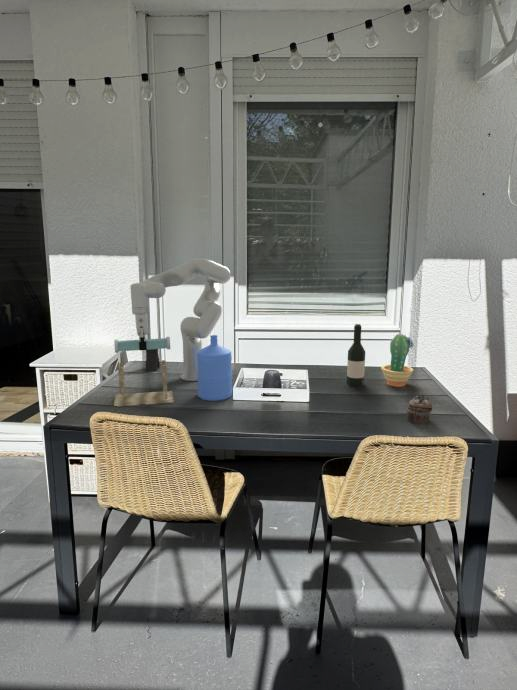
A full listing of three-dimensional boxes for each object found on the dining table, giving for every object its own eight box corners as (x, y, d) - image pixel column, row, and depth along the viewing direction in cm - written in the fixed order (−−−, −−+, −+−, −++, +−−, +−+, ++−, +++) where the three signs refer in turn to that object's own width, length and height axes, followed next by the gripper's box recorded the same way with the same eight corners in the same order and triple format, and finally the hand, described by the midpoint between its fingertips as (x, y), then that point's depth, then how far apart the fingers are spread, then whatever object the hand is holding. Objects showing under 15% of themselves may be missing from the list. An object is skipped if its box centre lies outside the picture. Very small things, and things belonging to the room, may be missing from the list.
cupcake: (425, 415, 200) (427, 391, 198) (434, 424, 190) (436, 399, 188) (402, 415, 200) (403, 392, 197) (410, 424, 190) (412, 400, 188)
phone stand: (156, 371, 264) (155, 349, 261) (145, 371, 264) (144, 349, 261) (160, 367, 273) (159, 346, 270) (149, 366, 273) (148, 345, 270)
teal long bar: (169, 347, 235) (169, 335, 233) (170, 350, 229) (169, 338, 228) (115, 351, 229) (114, 338, 228) (115, 354, 224) (114, 341, 222)
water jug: (227, 402, 215) (226, 340, 209) (193, 400, 218) (191, 338, 212) (235, 391, 230) (235, 333, 223) (203, 389, 233) (202, 331, 226)
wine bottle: (362, 381, 245) (365, 322, 239) (364, 386, 237) (367, 326, 230) (346, 381, 246) (348, 322, 239) (347, 386, 238) (349, 325, 231)
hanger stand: (172, 393, 226) (170, 359, 223) (173, 402, 215) (172, 366, 211) (116, 397, 221) (113, 362, 217) (114, 406, 209) (111, 369, 206)
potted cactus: (405, 390, 231) (409, 338, 226) (375, 384, 241) (377, 334, 235) (417, 383, 243) (420, 333, 238) (387, 377, 253) (390, 330, 247)
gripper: (148, 312, 218) (151, 352, 222) (148, 307, 234) (151, 344, 238) (131, 313, 216) (134, 353, 220) (132, 307, 232) (135, 345, 236)
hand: (143, 348), depth 229 cm, fingers closed on teal long bar, 4 cm apart
